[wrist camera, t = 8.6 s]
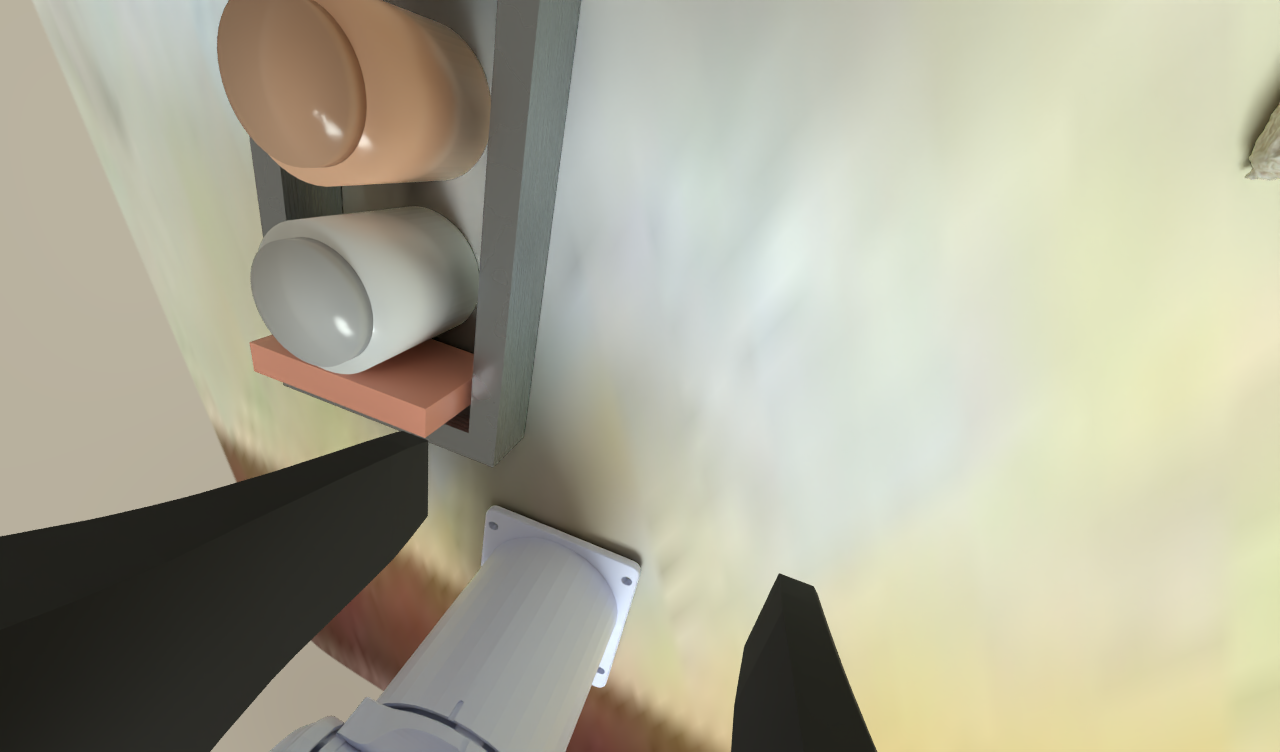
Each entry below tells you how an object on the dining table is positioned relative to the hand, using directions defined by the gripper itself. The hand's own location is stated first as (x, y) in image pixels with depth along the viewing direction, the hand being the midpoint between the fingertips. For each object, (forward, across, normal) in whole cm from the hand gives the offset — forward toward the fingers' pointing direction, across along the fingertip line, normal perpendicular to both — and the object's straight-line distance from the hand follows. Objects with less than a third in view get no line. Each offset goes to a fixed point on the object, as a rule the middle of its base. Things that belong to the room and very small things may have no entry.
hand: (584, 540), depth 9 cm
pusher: (+10, +11, +4) cm, 15 cm away
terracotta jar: (+10, +11, -6) cm, 16 cm away
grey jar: (+10, +11, 0) cm, 15 cm away
